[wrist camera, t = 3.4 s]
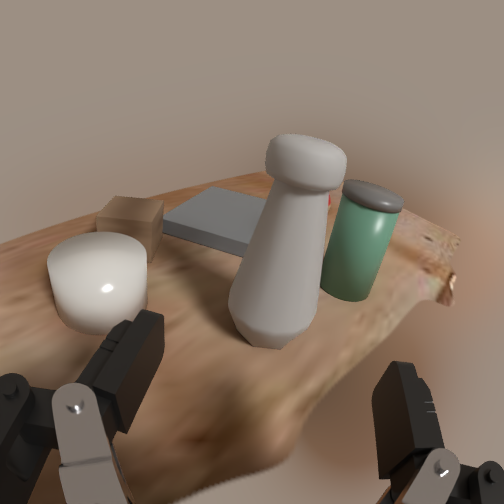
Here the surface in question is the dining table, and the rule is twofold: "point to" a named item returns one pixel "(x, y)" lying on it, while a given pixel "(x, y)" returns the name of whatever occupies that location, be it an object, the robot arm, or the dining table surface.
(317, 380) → the dining table surface
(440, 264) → the dining table surface
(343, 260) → the dark green jar
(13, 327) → the dining table surface
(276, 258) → the salt shaker
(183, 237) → the cutting board
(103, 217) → the brown wooden block
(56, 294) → the white dome
